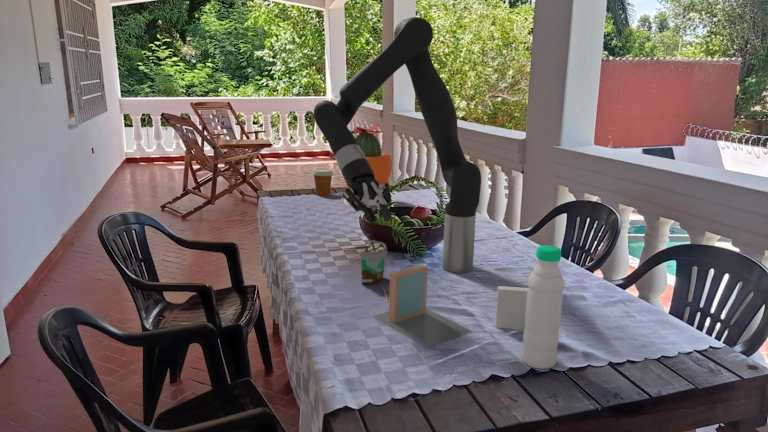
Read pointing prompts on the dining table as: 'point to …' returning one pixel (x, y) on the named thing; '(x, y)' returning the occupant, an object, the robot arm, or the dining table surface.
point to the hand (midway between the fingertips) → (381, 220)
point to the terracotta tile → (407, 293)
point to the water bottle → (543, 310)
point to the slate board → (426, 328)
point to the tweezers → (385, 294)
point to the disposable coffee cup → (323, 181)
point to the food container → (373, 263)
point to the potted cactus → (373, 155)
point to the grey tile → (511, 308)
